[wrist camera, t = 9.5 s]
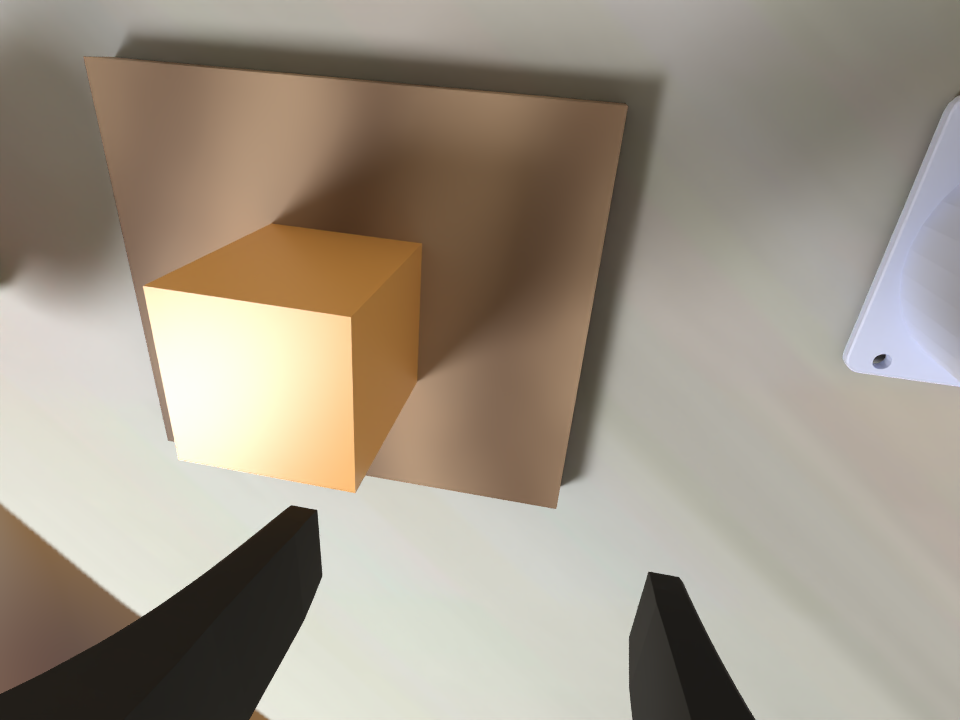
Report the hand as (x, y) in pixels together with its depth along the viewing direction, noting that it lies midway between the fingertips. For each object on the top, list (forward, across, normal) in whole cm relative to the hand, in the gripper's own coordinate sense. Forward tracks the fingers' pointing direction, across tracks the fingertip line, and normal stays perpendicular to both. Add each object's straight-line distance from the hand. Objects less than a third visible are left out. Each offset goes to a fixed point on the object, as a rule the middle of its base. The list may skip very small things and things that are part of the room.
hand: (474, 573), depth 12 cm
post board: (+9, +6, -2) cm, 11 cm away
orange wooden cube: (+8, +6, -2) cm, 10 cm away
